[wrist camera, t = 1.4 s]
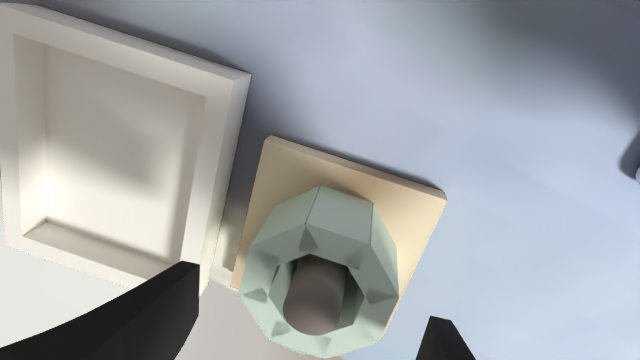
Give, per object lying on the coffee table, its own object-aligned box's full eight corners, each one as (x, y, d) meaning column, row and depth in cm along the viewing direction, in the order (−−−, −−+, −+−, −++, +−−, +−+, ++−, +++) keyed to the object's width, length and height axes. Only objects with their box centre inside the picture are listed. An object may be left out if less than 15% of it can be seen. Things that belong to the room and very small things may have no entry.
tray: (251, 74, 14) (233, 80, 12) (208, 283, 18) (190, 309, 16) (35, 4, 14) (-11, 1, 13) (39, 225, 18) (5, 245, 17)
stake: (444, 191, 14) (468, 259, 10) (381, 325, 17) (380, 421, 13) (270, 134, 15) (224, 177, 11) (236, 275, 18) (189, 354, 13)
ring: (410, 214, 14) (416, 260, 11) (358, 334, 17) (353, 395, 14) (283, 173, 14) (259, 207, 12) (250, 297, 17) (223, 349, 14)
